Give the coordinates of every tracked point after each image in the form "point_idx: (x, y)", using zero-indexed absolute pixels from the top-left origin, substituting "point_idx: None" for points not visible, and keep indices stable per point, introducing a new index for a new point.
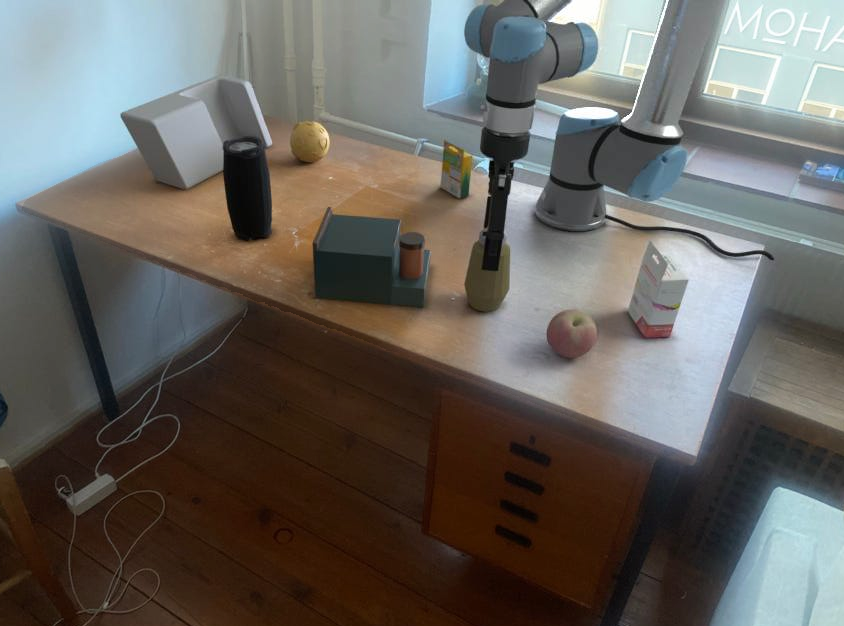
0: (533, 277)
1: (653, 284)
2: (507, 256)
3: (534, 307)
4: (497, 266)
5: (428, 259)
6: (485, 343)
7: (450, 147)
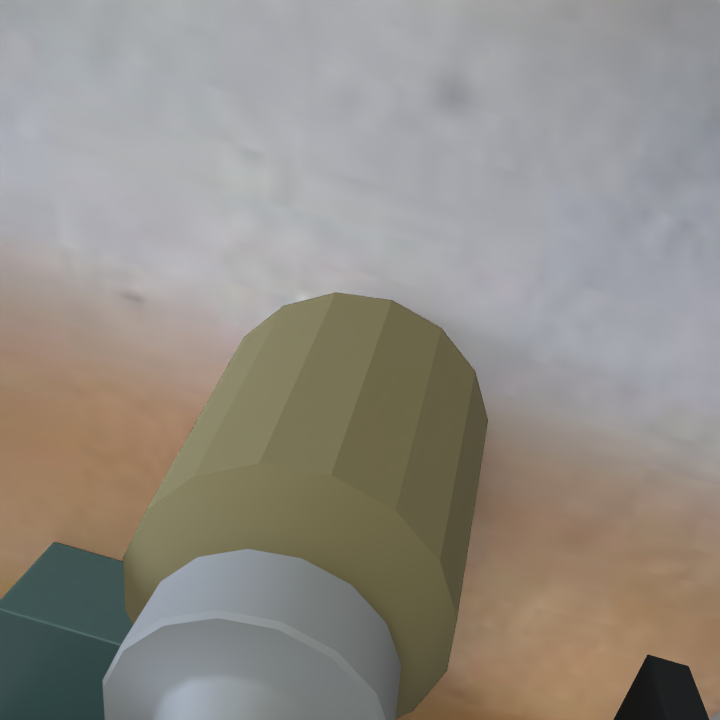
0: (98, 16)
1: None
2: (407, 498)
3: (429, 104)
4: (698, 715)
5: (87, 638)
6: (715, 458)
7: None
